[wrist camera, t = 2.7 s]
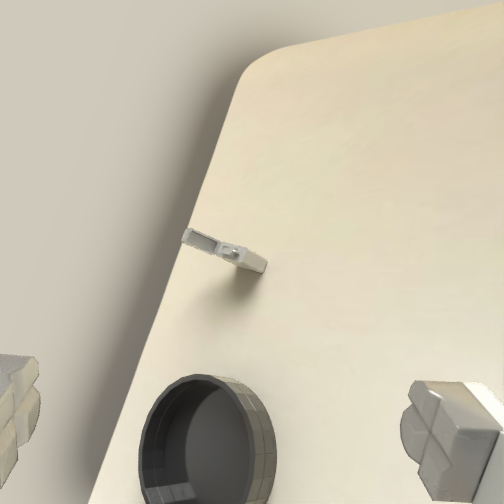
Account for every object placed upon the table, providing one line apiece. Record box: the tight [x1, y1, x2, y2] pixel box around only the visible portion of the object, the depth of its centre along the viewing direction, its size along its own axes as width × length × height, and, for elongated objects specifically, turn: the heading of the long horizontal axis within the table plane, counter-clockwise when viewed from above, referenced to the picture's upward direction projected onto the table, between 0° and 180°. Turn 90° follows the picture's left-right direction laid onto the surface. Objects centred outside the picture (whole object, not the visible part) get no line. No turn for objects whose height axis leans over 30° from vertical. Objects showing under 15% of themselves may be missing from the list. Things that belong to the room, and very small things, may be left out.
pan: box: [138, 374, 277, 504], centre depth 44 cm, size 15×15×4 cm
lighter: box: [181, 228, 267, 273], centre depth 49 cm, size 7×2×8 cm, turn 65°
